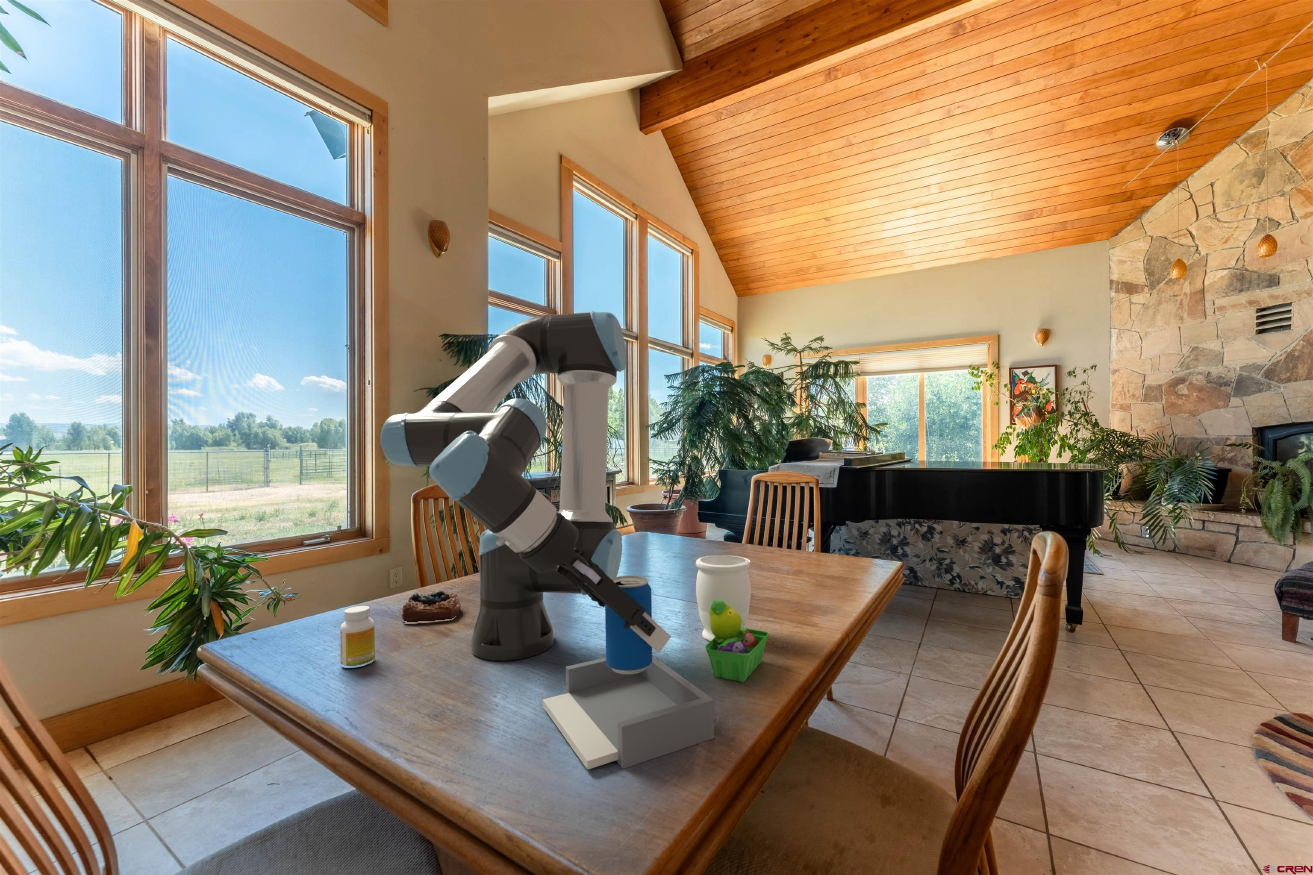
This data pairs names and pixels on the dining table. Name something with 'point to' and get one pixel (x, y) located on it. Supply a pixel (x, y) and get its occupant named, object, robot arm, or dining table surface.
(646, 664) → the beverage can
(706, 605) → the jar
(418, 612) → the pastry
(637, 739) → the tray
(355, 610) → the supplement bottle
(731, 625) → the fruit basket
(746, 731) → the dining table surface
